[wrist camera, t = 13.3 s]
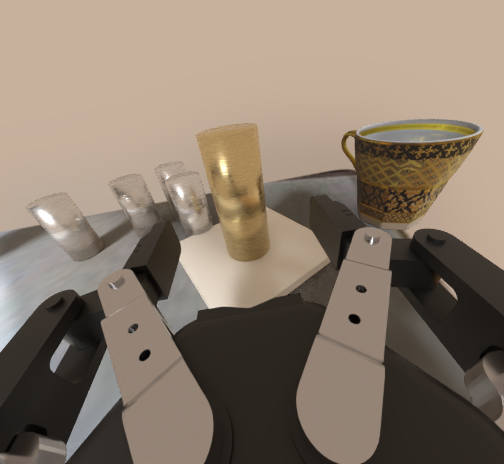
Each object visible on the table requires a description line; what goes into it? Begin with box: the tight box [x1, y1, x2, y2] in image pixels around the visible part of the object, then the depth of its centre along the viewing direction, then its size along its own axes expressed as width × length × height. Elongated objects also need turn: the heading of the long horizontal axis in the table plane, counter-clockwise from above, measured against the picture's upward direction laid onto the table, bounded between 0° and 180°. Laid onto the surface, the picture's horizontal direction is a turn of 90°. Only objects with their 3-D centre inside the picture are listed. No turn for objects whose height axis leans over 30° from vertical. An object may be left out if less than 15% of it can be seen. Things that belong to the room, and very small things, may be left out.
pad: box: [179, 207, 331, 309], centre depth 23 cm, size 14×14×1 cm
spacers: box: [25, 161, 214, 261], centre depth 26 cm, size 18×12×8 cm, turn 126°
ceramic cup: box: [342, 119, 483, 230], centre depth 24 cm, size 13×10×10 cm
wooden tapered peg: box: [196, 123, 270, 262], centre depth 19 cm, size 5×5×12 cm
